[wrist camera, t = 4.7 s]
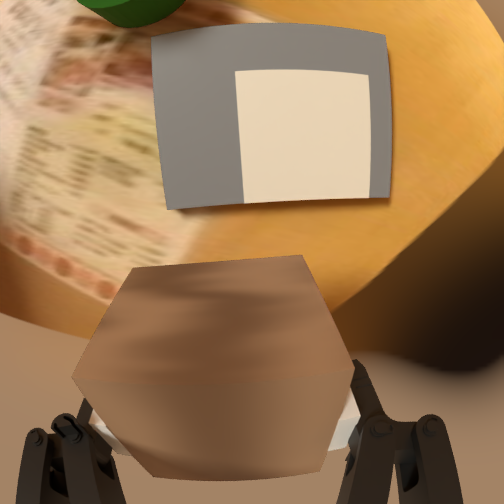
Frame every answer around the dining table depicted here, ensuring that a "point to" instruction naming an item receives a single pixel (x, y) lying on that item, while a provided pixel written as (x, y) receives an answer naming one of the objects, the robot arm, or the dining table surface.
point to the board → (272, 113)
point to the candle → (132, 10)
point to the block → (219, 370)
